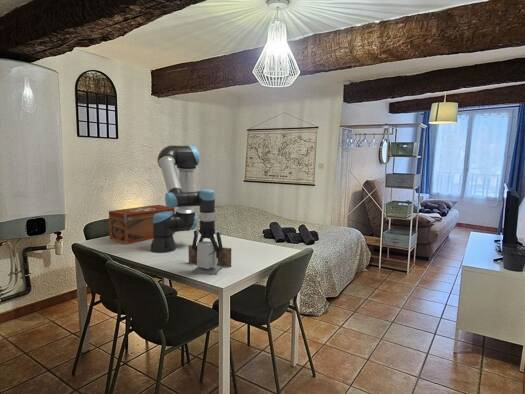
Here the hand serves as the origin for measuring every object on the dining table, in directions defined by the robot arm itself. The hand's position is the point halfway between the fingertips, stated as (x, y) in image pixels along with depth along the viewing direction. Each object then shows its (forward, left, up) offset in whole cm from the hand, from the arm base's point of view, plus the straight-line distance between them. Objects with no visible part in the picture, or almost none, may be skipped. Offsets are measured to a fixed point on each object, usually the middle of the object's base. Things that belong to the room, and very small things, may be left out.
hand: (207, 263), depth 169 cm
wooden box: (-69, +55, -4) cm, 88 cm away
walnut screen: (-2, +9, -4) cm, 10 cm away
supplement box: (0, 0, -2) cm, 2 cm away
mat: (0, 0, -4) cm, 4 cm away
